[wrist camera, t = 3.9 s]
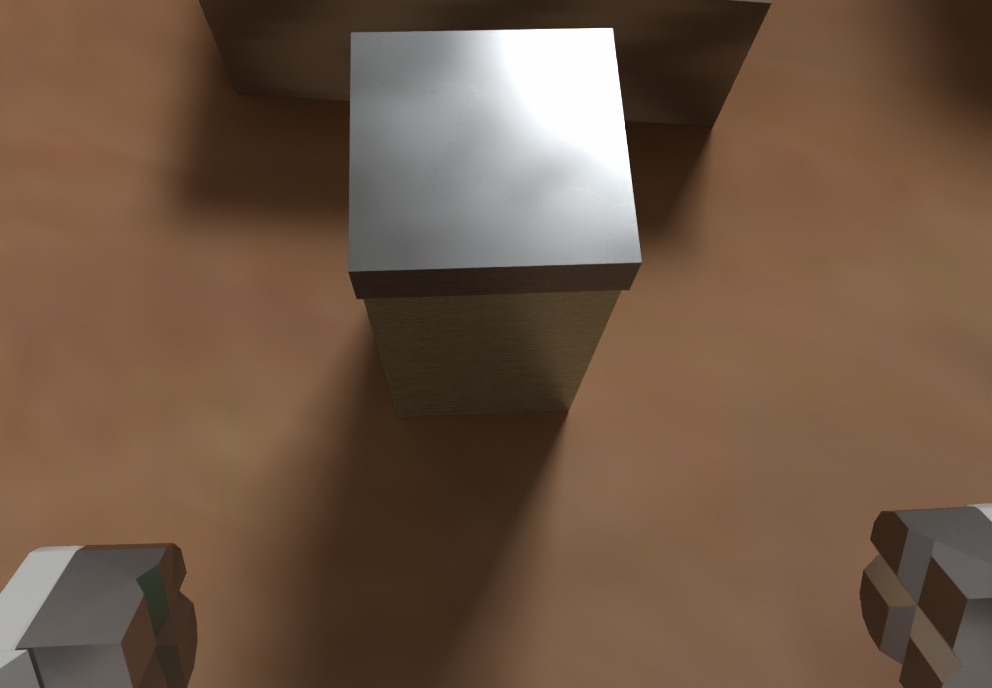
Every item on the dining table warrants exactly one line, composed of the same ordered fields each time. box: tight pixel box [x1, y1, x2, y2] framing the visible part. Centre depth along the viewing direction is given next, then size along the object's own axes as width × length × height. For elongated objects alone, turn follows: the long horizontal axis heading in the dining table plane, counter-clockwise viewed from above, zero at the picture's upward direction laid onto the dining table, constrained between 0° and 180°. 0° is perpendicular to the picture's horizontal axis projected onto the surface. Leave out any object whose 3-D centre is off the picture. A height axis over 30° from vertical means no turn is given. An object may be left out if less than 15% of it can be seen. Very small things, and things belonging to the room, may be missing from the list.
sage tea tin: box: [348, 28, 642, 418], centre depth 20 cm, size 5×5×10 cm
